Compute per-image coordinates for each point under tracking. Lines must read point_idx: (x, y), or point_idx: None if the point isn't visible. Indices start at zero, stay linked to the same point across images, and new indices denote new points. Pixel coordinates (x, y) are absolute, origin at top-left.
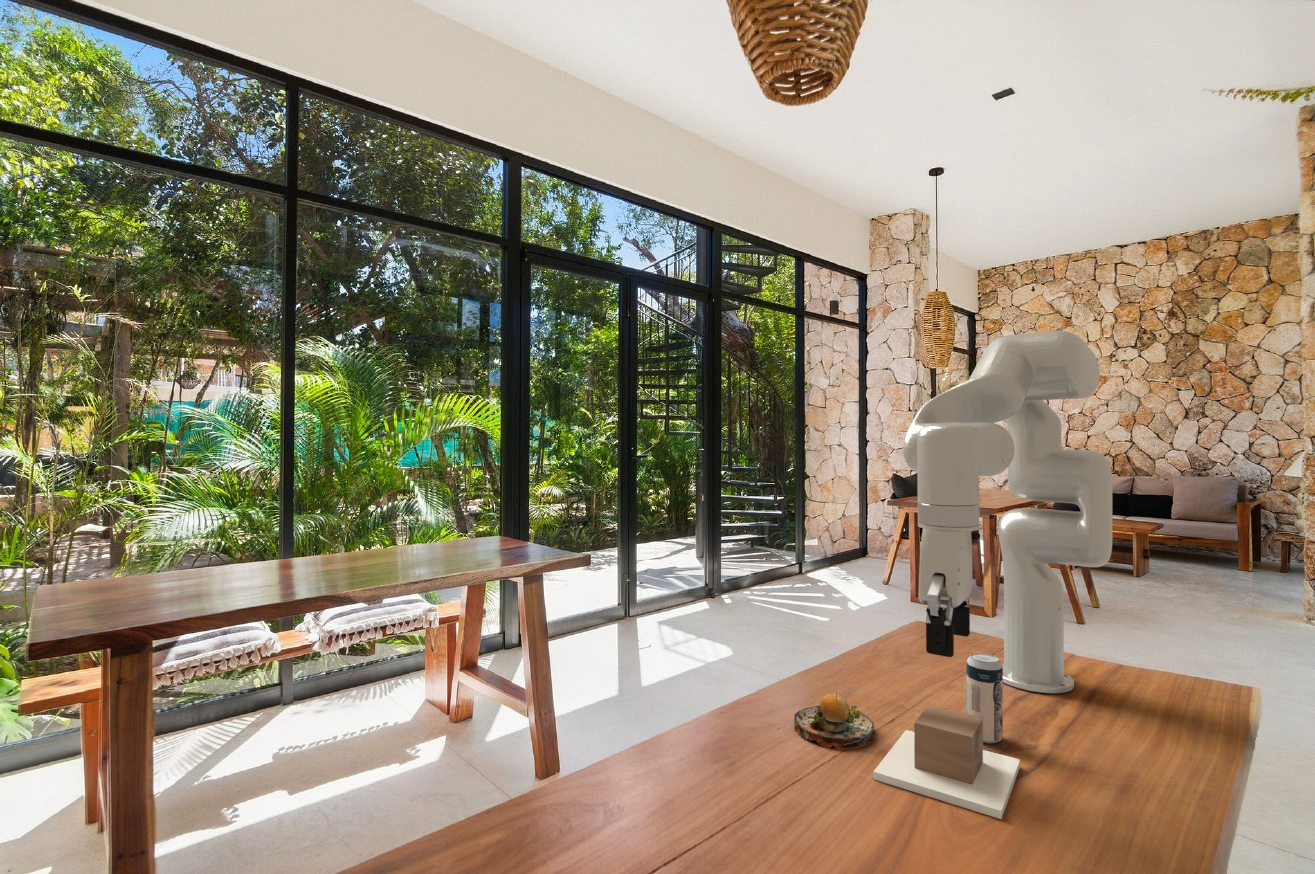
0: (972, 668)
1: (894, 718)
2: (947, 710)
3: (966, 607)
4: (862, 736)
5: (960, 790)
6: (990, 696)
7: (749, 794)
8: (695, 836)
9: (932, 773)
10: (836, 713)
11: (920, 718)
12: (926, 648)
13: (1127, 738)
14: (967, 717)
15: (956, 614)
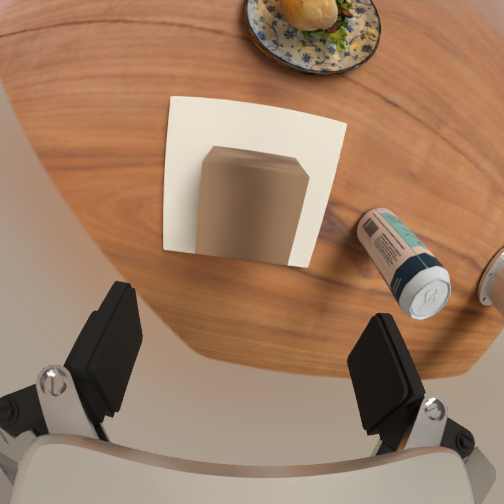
0: (413, 273)
1: (399, 107)
2: (295, 212)
3: (377, 430)
4: (277, 58)
5: (182, 207)
6: (381, 272)
7: (75, 5)
8: (10, 26)
9: None
10: (283, 10)
11: (229, 168)
12: (111, 287)
13: None
14: (277, 244)
15: (375, 395)
